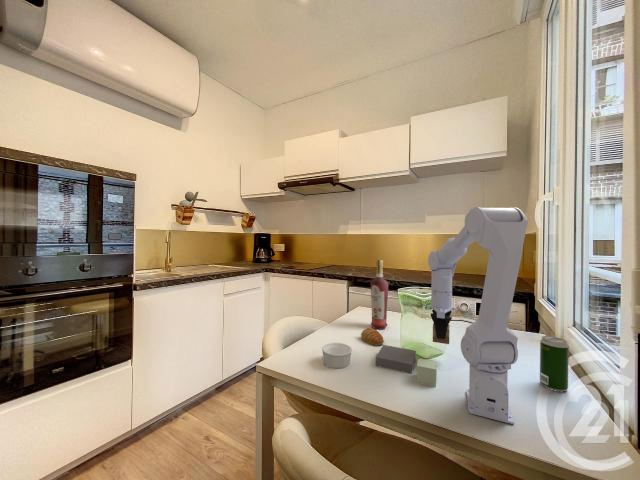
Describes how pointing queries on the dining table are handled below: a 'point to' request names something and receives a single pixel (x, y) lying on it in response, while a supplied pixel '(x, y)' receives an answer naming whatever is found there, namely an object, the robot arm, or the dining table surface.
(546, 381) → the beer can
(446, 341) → the walnut cube
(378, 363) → the charcoal slab
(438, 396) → the dining table surface
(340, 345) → the ramekin
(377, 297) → the liquor
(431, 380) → the sage green cube
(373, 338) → the pastry
